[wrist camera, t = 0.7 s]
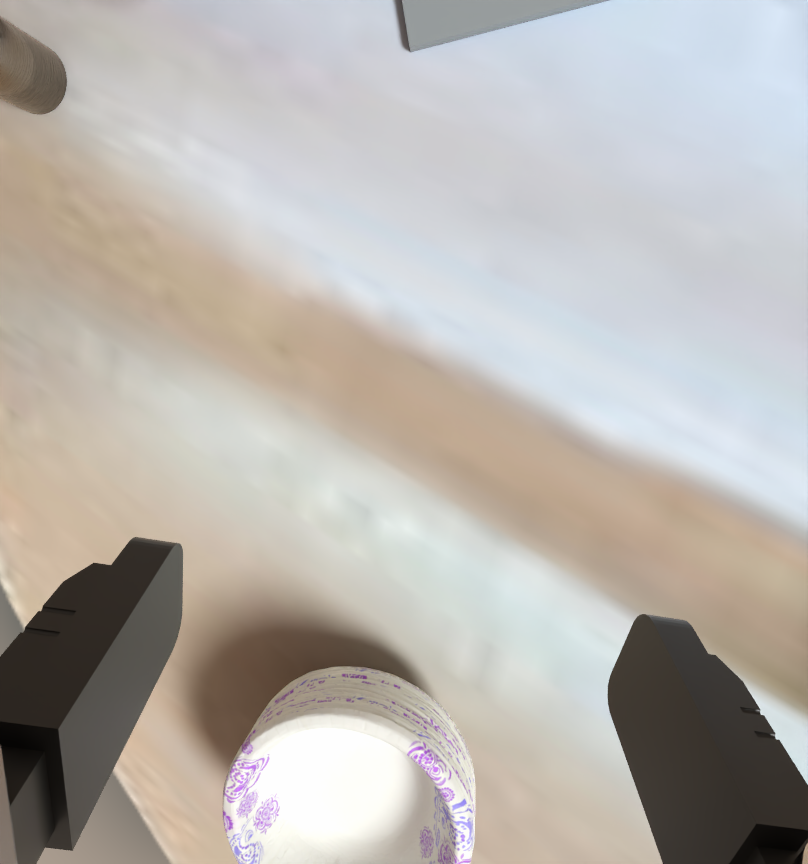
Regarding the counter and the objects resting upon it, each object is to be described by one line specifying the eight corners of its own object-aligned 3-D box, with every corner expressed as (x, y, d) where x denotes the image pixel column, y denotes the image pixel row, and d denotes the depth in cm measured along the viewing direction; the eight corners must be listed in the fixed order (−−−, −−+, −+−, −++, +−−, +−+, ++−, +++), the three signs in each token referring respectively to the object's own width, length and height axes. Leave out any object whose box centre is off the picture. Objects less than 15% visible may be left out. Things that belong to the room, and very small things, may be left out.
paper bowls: (234, 670, 42) (178, 748, 34) (433, 616, 39) (421, 687, 32) (310, 849, 44) (273, 962, 36) (505, 809, 41) (510, 921, 33)
